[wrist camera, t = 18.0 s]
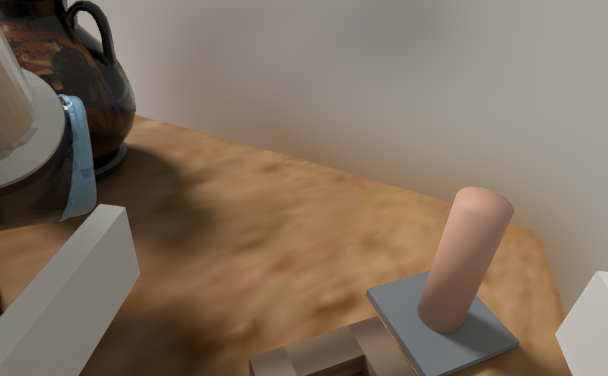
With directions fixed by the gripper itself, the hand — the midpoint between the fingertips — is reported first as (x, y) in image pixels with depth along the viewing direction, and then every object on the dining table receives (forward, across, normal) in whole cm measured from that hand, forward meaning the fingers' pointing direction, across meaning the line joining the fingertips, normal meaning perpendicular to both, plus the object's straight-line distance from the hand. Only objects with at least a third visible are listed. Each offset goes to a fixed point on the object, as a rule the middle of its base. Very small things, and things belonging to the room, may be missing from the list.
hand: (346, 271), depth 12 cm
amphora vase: (+46, -43, -30) cm, 70 cm away
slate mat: (+24, +13, -30) cm, 41 cm away
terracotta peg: (+24, +13, -29) cm, 40 cm away
